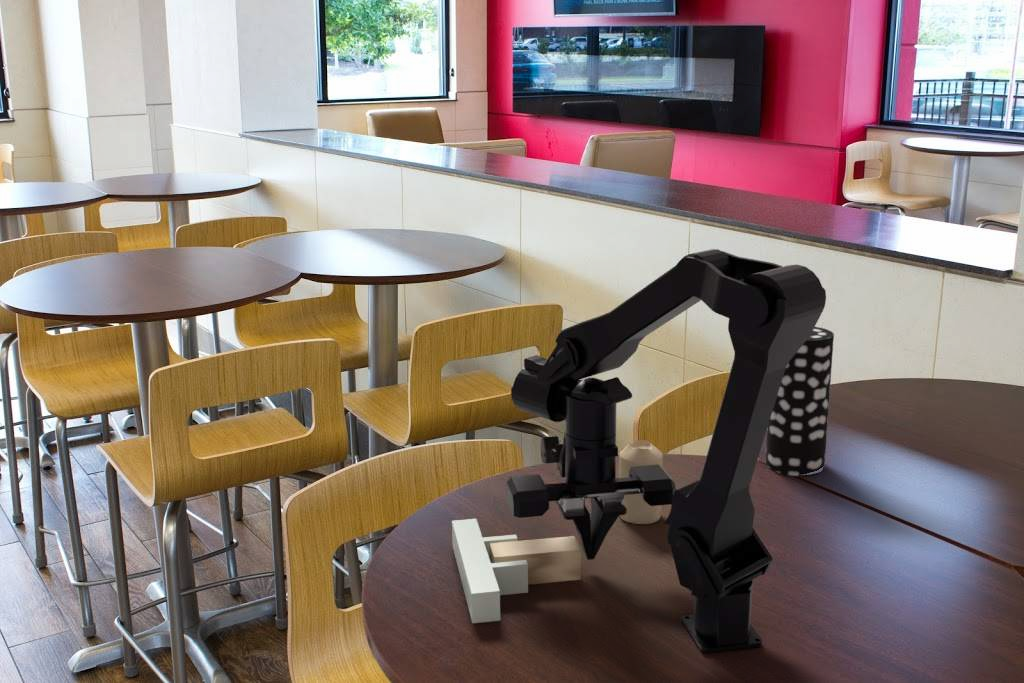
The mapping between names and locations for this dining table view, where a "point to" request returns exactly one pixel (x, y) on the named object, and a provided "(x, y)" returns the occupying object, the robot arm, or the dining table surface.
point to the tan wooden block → (542, 558)
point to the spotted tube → (802, 409)
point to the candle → (634, 503)
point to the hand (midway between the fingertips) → (589, 558)
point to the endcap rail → (485, 571)
